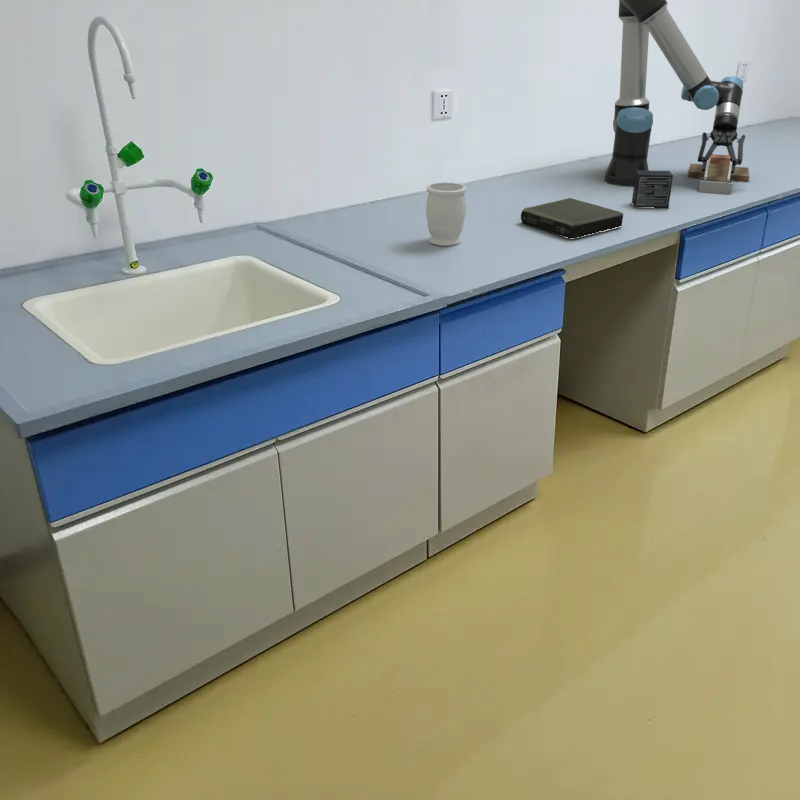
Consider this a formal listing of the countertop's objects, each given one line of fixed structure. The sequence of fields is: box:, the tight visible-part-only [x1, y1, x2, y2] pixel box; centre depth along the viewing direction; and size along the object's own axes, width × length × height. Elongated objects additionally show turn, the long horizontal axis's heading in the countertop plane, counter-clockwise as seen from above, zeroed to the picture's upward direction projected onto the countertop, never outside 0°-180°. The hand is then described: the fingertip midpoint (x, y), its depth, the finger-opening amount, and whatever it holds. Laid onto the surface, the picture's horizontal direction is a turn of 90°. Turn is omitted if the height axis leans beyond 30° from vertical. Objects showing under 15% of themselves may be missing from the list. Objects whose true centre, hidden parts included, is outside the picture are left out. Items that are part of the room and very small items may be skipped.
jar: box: [425, 182, 468, 247], centre depth 217 cm, size 11×10×15 cm
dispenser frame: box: [698, 178, 733, 195], centre depth 271 cm, size 10×9×4 cm
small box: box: [631, 170, 674, 209], centre depth 251 cm, size 11×6×10 cm, turn 84°
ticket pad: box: [706, 153, 731, 182], centre depth 269 cm, size 6×5×11 cm
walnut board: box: [687, 163, 750, 183], centre depth 289 cm, size 20×14×2 cm
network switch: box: [520, 197, 624, 238], centre depth 234 cm, size 23×24×5 cm
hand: (716, 180), depth 267 cm, fingers closed on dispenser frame, 6 cm apart
